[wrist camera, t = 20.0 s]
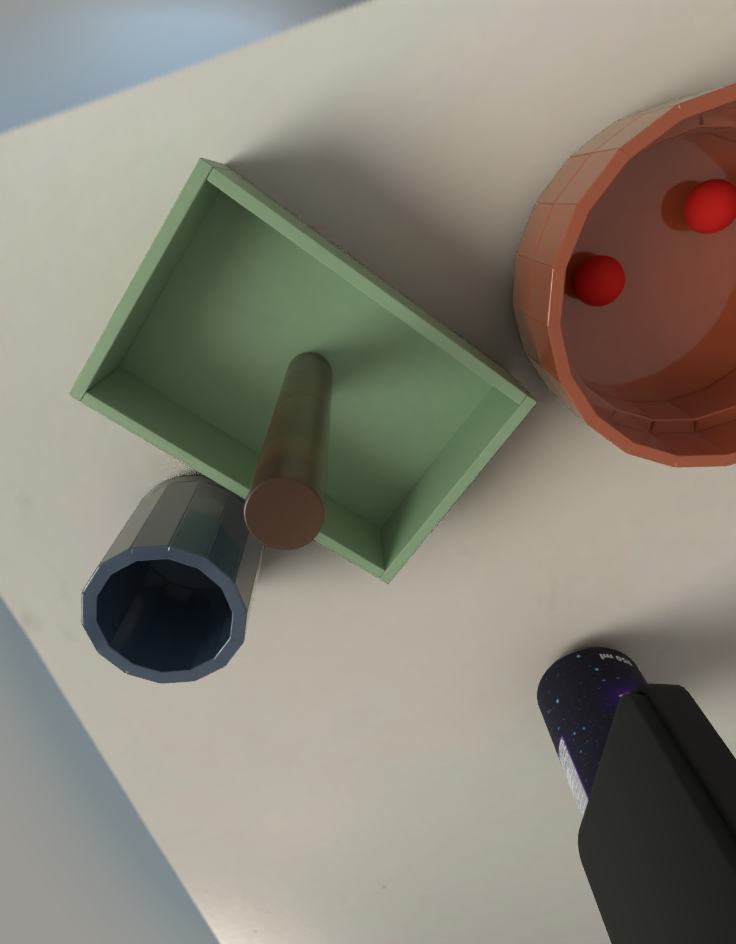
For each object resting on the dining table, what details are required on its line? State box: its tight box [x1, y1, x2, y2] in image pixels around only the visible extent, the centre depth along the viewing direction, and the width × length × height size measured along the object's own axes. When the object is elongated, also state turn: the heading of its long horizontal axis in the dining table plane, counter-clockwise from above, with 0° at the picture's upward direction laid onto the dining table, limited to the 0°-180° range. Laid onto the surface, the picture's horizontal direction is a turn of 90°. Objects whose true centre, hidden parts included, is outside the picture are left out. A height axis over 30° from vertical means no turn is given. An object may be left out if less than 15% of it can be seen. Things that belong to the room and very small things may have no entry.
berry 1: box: [573, 255, 625, 307], centre depth 27 cm, size 2×2×2 cm
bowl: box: [513, 82, 736, 467], centre depth 26 cm, size 13×13×6 cm
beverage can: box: [537, 647, 648, 819], centre depth 31 cm, size 6×6×12 cm
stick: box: [243, 352, 332, 550], centre depth 23 cm, size 2×2×14 cm
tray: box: [69, 158, 537, 584], centre depth 28 cm, size 15×10×4 cm, turn 55°
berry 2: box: [683, 179, 736, 234], centre depth 26 cm, size 2×2×2 cm
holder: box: [82, 476, 264, 683], centre depth 29 cm, size 6×6×7 cm
